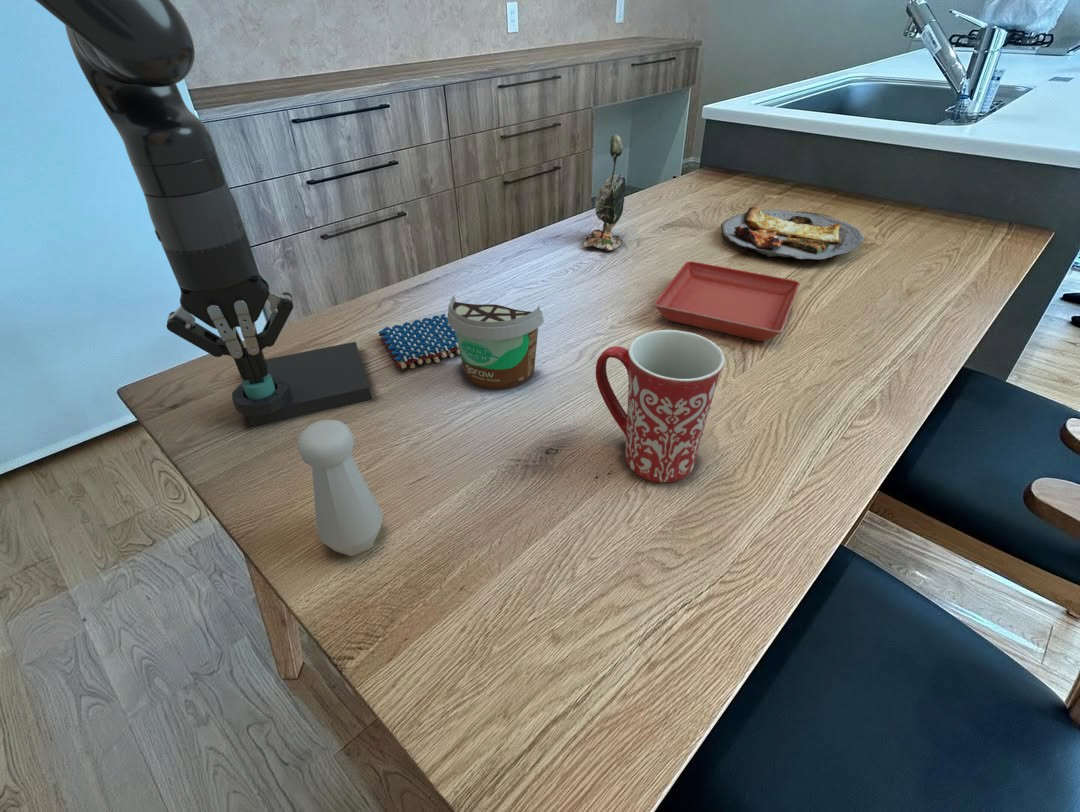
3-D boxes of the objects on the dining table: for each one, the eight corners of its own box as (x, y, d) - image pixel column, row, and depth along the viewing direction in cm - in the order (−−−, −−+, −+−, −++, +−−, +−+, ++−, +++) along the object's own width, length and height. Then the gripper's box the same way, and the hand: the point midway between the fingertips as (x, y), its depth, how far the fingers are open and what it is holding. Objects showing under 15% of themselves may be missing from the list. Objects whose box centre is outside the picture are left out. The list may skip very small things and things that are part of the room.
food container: (438, 386, 75) (428, 316, 69) (457, 361, 79) (449, 294, 73) (530, 402, 72) (527, 330, 66) (544, 375, 76) (543, 306, 70)
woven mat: (474, 354, 81) (472, 341, 80) (399, 374, 77) (396, 361, 76) (448, 322, 88) (446, 310, 87) (378, 339, 85) (376, 326, 83)
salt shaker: (395, 547, 54) (368, 439, 46) (332, 574, 52) (292, 464, 44) (375, 507, 58) (347, 401, 50) (316, 530, 56) (278, 423, 48)
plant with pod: (635, 236, 115) (645, 126, 104) (610, 256, 108) (617, 139, 96) (598, 229, 119) (603, 122, 107) (571, 248, 111) (573, 134, 99)
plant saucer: (796, 299, 93) (801, 279, 91) (776, 352, 80) (782, 331, 78) (684, 278, 100) (687, 259, 98) (650, 324, 87) (652, 304, 85)
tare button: (246, 402, 67) (241, 390, 66) (246, 388, 69) (241, 375, 68) (276, 396, 68) (271, 384, 67) (275, 382, 70) (270, 370, 69)
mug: (717, 453, 64) (740, 346, 56) (680, 502, 58) (700, 391, 50) (616, 412, 70) (624, 310, 62) (574, 453, 64) (576, 347, 56)
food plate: (700, 246, 111) (702, 228, 109) (746, 212, 126) (750, 196, 124) (838, 278, 99) (844, 258, 97) (871, 237, 113) (877, 219, 111)
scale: (241, 434, 67) (231, 410, 65) (242, 376, 77) (233, 354, 75) (373, 404, 72) (368, 380, 70) (358, 353, 82) (353, 331, 80)
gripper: (273, 212, 62) (313, 351, 73) (132, 230, 58) (196, 375, 69) (275, 235, 57) (319, 383, 67) (120, 258, 53) (192, 411, 63)
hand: (257, 379), depth 68 cm, fingers closed
